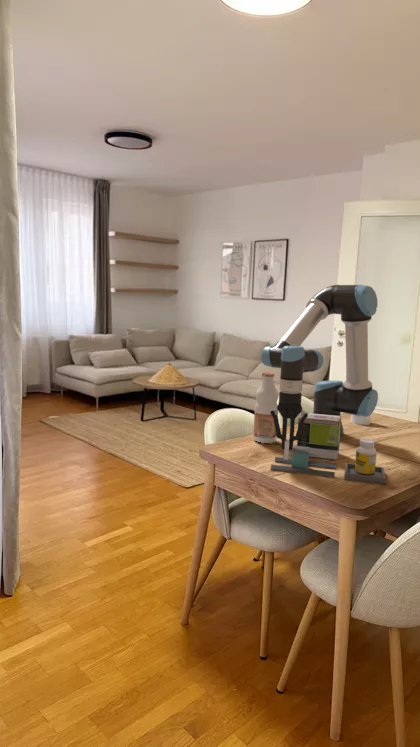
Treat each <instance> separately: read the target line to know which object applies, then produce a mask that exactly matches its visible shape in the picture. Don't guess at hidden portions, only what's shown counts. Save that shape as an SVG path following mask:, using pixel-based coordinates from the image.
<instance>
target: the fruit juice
mask: <svg viewBox="0 0 420 747" xmlns="http://www.w3.org/2000/svg"><path fill="white" fill-rule="evenodd" d="M261 377H262V380H261V383H260V385H259V387H258V388H257V389H256V392H255V399H256V402H255V404H254V414H253V416H254V417H253V418H254V419H253V434H252V435H253V436H252V437H253V439H252V440H253V441H254V440H255V441H257V442H256V443H258V442H261V443H260V444H264V443H270V444H274V443H276V442H277V436H276V430H275V425H274V420H273V416H272V415H271V413H270V412H271V410H272V409H276V408H277V406H278V401H279V392H278V390H277V387H276V385H275V382H274V381H275V380H274V378H275V373H274V372H269V371H267V372H266V371H265V372H261ZM278 414H279V413H278ZM278 414H277V415H278ZM278 416H279V415H278ZM255 441H254V442H255ZM275 441H276V442H275ZM273 442H274V443H273Z"/></svg>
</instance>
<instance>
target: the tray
mask: <svg viewBox="0 0 420 747" xmlns="http://www.w3.org/2000/svg"><path fill="white" fill-rule="evenodd" d="M344 466H345V467H344V478H343V479H344V481H345V480H346V481H347V480H348V481H351V482H352V481H354V482H360V483H369V484H378V485H385V486H386V481H387V480H386V479H387V478H386V473H385V467H383V466H377V465H375V474H374V476H367V475H359V474H356V473H355V463H348V462H345V465H344Z"/></svg>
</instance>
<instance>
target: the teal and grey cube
mask: <svg viewBox="0 0 420 747" xmlns="http://www.w3.org/2000/svg"><path fill="white" fill-rule="evenodd" d="M309 450H310V447H303V446H297V445H293V449H292V450H291V453H292V454H291V455H292V456H291V459H292V464H291V467H297V468H306V469H308V467H309V466H308V461H309V457H310V456H309Z"/></svg>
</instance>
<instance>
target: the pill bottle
mask: <svg viewBox="0 0 420 747" xmlns="http://www.w3.org/2000/svg"><path fill="white" fill-rule="evenodd" d="M375 444H376V442H375V440H374V439H372V438H371V439H370V438H360V439H359V446H357V447H356V450H355V462H354V464H355V473H356V474H359V475H367V476H374V474H375V466H377V465H376V464H377V452H378V451H377V450H376V448H375Z"/></svg>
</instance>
